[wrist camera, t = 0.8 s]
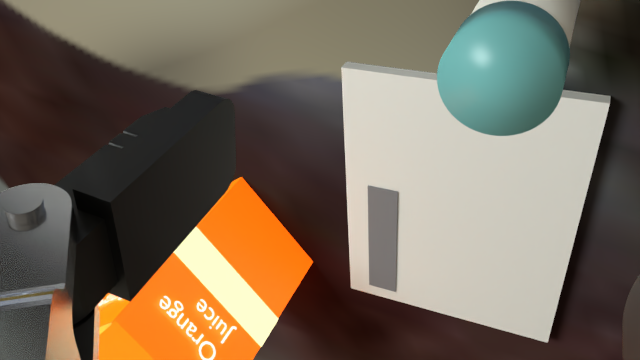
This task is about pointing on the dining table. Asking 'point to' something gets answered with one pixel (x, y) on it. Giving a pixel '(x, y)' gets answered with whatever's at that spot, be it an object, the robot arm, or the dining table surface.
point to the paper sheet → (463, 200)
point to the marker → (508, 64)
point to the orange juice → (210, 289)
